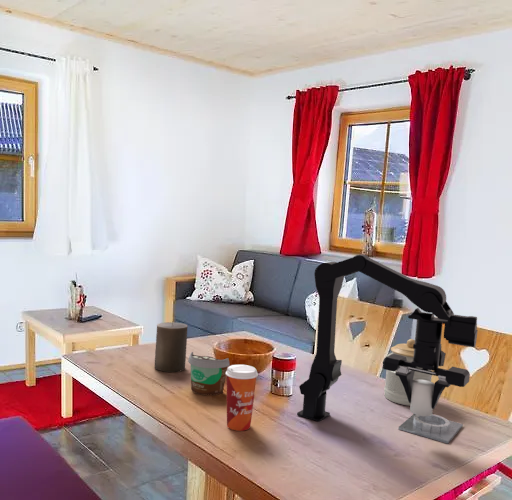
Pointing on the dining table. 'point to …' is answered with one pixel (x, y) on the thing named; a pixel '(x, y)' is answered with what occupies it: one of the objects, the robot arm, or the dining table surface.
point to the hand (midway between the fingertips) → (421, 405)
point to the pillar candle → (171, 346)
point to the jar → (393, 383)
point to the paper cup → (240, 396)
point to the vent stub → (422, 397)
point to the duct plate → (431, 434)
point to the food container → (207, 374)
